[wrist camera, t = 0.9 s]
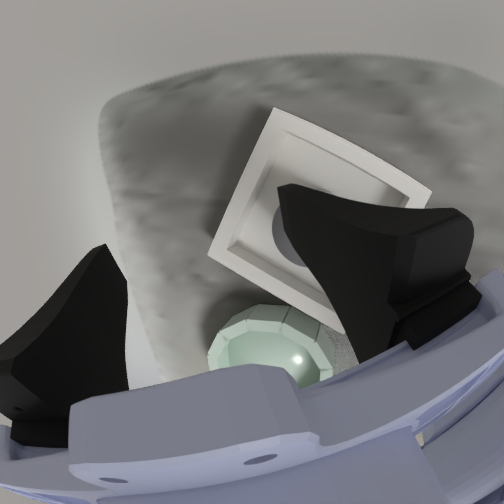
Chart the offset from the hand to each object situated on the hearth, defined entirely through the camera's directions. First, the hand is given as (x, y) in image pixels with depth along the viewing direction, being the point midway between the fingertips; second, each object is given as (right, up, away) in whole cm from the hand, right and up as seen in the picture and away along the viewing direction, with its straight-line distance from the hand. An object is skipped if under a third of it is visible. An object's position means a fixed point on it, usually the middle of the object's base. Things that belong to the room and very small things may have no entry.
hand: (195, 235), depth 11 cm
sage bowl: (+4, -10, +14) cm, 18 cm away
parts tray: (+7, +2, +10) cm, 13 cm away
